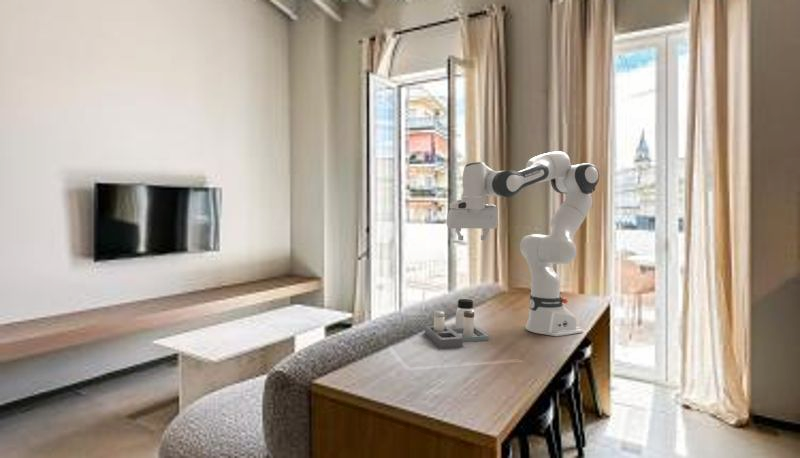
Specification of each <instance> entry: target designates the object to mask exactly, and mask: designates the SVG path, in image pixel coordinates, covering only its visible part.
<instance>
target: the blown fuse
mask: <svg viewBox="0 0 800 458" xmlns="http://www.w3.org/2000/svg"><path fill="white" fill-rule="evenodd" d="M474 327H475V311H474V312H471V311H465V312H464V319H463V332H462V337H470V336H475V335H474V333H475V332H474Z"/></svg>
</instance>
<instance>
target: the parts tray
mask: <svg viewBox="0 0 800 458" xmlns="http://www.w3.org/2000/svg"><path fill="white" fill-rule="evenodd" d="M449 329H450V330H452V331H453V332H454V333H456V334H457V335H458V336H460V337H461V338H462V343H463V342H477V341H489V335H488V334H487V333H485V332H483V331H482V330H481V329H479V328H477V327H475V326H474V333H475V334H477V335H474V336H470V337H463V336H461V335H460V334H459V333H463V328H456V327H454V328H449Z"/></svg>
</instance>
